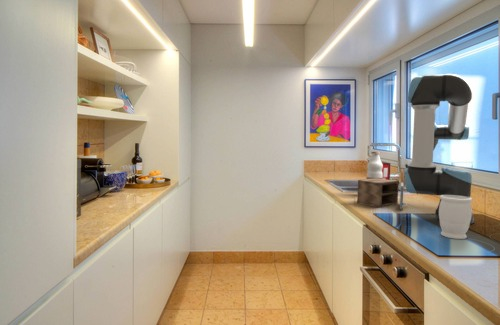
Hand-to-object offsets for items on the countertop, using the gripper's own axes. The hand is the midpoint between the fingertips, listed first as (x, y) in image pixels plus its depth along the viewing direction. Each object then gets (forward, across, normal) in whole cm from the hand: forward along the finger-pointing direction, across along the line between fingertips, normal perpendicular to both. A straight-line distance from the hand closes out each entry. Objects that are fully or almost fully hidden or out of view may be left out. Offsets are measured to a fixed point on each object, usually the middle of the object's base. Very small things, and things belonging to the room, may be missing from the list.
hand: (405, 190), depth 178 cm
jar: (+31, -39, +21) cm, 54 cm away
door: (+8, 0, -4) cm, 8 cm away
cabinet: (+10, +13, -2) cm, 17 cm away
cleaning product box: (-16, +38, -32) cm, 52 cm away
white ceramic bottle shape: (-3, +28, -17) cm, 33 cm away
